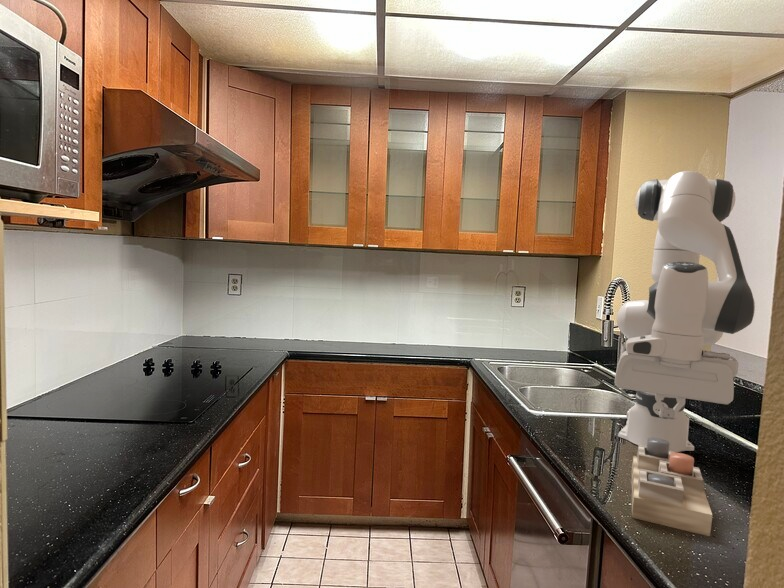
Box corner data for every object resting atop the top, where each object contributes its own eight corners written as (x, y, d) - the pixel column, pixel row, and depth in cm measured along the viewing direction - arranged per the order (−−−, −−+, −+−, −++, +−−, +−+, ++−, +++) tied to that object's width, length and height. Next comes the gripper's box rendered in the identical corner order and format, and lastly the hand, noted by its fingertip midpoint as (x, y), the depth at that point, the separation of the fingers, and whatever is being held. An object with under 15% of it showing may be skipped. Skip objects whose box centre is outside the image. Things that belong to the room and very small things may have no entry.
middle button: (667, 464, 113) (669, 450, 113) (691, 469, 111) (693, 455, 111) (669, 471, 109) (670, 457, 109) (693, 477, 107) (695, 462, 107)
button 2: (646, 486, 108) (648, 471, 108) (671, 491, 106) (672, 477, 106) (647, 494, 104) (648, 479, 103) (672, 500, 102) (674, 485, 102)
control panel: (631, 472, 126) (634, 443, 125) (694, 485, 121) (698, 455, 120) (631, 517, 103) (635, 482, 102) (709, 536, 98) (714, 499, 97)
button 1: (645, 449, 122) (647, 436, 122) (667, 453, 120) (668, 440, 120) (646, 455, 118) (647, 441, 118) (668, 459, 116) (670, 446, 116)
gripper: (736, 352, 101) (727, 423, 103) (619, 338, 109) (612, 404, 111) (742, 357, 96) (733, 433, 97) (618, 342, 104) (611, 412, 105)
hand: (667, 417), depth 104 cm, fingers closed
